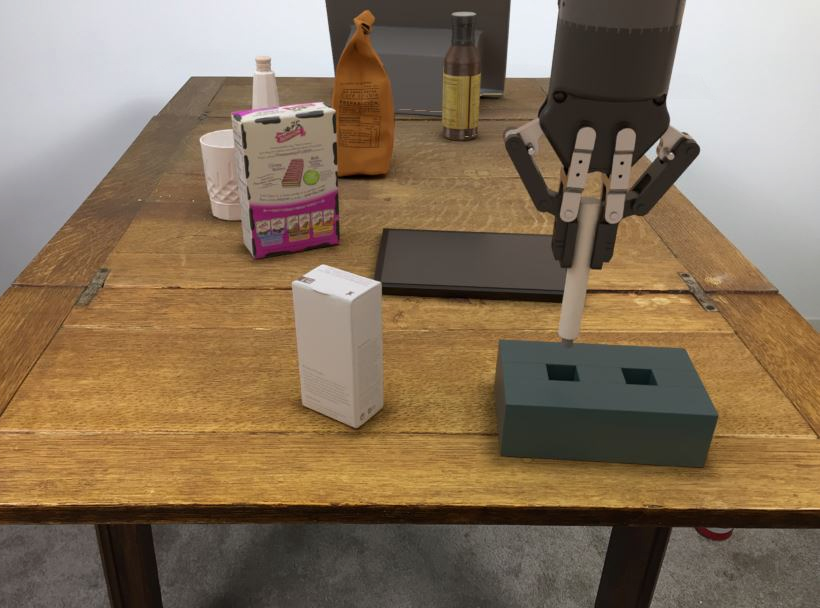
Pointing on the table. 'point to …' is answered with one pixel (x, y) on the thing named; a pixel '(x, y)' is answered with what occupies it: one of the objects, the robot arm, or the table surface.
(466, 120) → the sauce bottle
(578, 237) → the stylus
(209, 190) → the white cup
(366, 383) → the cosmetic box
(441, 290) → the tablet
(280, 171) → the candy bar box
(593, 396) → the pen stand
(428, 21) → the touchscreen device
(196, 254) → the table surface
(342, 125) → the coffee package
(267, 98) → the salt shaker
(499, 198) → the table surface
